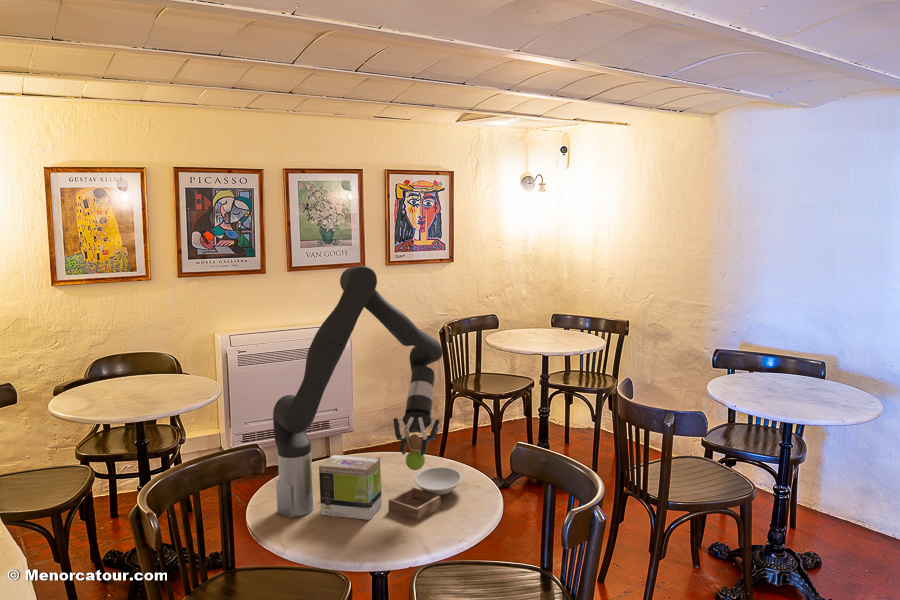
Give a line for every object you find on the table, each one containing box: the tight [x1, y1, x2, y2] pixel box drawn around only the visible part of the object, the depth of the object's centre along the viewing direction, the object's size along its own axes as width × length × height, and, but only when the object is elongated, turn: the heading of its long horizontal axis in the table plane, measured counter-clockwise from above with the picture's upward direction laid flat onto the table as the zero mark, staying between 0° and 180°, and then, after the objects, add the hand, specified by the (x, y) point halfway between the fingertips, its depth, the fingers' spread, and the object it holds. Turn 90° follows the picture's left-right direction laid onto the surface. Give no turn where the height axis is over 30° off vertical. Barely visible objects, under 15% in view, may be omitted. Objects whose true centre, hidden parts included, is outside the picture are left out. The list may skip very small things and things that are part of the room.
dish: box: [414, 466, 463, 496], centre depth 192 cm, size 18×14×5 cm
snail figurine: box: [403, 426, 426, 471], centre depth 180 cm, size 5×6×12 cm
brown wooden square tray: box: [388, 487, 442, 522], centre depth 182 cm, size 11×11×4 cm
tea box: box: [318, 454, 382, 521], centre depth 181 cm, size 15×10×15 cm, turn 74°
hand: (412, 453), depth 178 cm, fingers closed on snail figurine, 4 cm apart
